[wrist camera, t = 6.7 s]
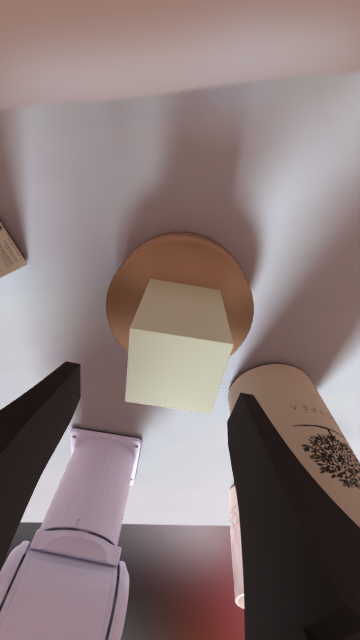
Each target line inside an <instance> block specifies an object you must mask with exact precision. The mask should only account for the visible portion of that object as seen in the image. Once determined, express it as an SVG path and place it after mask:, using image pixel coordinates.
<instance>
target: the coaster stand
mask: <svg viewBox="0 0 360 640" xmlns="http://www.w3.org/2000/svg"><path fill="white" fill-rule="evenodd" d="M150 278H151V279H157V280H163V281H169V282H175V283H181V284H187V285H193V286H199V287H205V288H211V289H217V290H220V291H221V295H222V299H223V303H224V307H225V311H226V316H227V320H228V324H229V328H230V332H231V336H232V340H233V344H234V345H233V348H232V351H231V354H230V356H231V355H232V354H233V353H234V352H235V351H236V350H237V349H238V348H239V347H240V346H241V344H242V343H243V341H244V340H245V338H246V337H247V335H248V332H249V330H250V327H251V324H252V320H253V314H254V304H253V297H252V293H251V290H250V287H249V285H248V283H247V280H246V278H245V276H244V275H243V273H242V271H241V269H240V267H239V265H238V263H237V262H236V260H235V259H234V257H233V256H232V255H231V254H230V253H229V252H228V251H227V250H226V249H225V248H224V247H223V246H221V245H220V244H218V243H217V242H215V241H214V240H212V239H209V238H207V237H205V236H202V235H198V234H195V233H188V232H173V233H166V234H163V235H159V236H156V237H154V238H152V239H149V240H148V241H146V242H144V243H143V244H141V245H140V246H139V247H138V248H136V249H135V250H134V251H133V252H132V254H131V255H130V256H129V257H128V258H127V260H126V261H125V262H124V263H123V265H122V266H121V267H120V268H119V270H118V271H117V273H116V274H115V276H114V277H113V279H112V281H111V284H110V286H109V290H108V293H107V300H106V312H107V318H108V322H109V325H110V328H111V330H112V332H113V334H114V336H115V337H116V339H117V341H118V342H119V343H120V344H121V346H122V347H123V348H124V349H125V350H126V351H127V352H128V348H129V334H130V327H131V324H132V322H133V319H134V317H135V315H136V312H137V310H138V307H139V305H140V302H141V300H142V298H143V295H144V293H145V290H146V288H147V286H148V283H149V281H150Z"/></svg>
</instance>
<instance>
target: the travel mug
mask: <svg viewBox="0 0 360 640" xmlns="http://www.w3.org/2000/svg"><path fill="white" fill-rule="evenodd" d="M240 392H241V393H246V394H252V395H254V396H255V398H256V399H257V401H258V403H259V404H260V406H261V407H262V409H263V410H264V412H265V413H266V415H267V416H268V418H269V419H270V421H271V422H272V424H273V425H274V427H275V428H276V430H277V431H278V433H279V434H280V435H281V437H282V438H283V440H284V441H285V443H286V444H287V445H288V447H289V448H290V449H291V451H292V452H293V453H294V455H295V456H296V457H297V458H298V460H299V461H300V462H301V464H302V465H303V466H304V467H305V469H306V470H307V471H308V472H309V474H310V475H311V476H312V477H313V478H314V479H315V480H316V482H317V483H318V484H319V485H320V486H321V487H322V489H323V490H324V491H325V492H326V493H327V494H328V495H329V496H330V497H331V499H332V500H333V501H334V502H335V503H336V504H337V505H338V506H339V507H340V508H341V509H342V510H343V511H344V512H345V513H346V514H347V515H348V516H349V517H350V518H351V519H352V520H353V521H354V522H355V523H356V524H357V525H358V526H359V527H360V463H359V461H358V459H357V458H356V456H355V454H354V453H353V451H352V449H351V447H350V446H349V444H348V442H347V441H346V439H345V437H344V435H343V434H342V432H341V430H340V429H339V427H338V425H337V424H336V422H335V420H334V418H333V417H332V415H331V413H330V412H329V410H328V408H327V406H326V405H325V403H324V401H323V400H322V398H321V396H320V395H319V393H318V391H317V389H316V388H315V386H314V384H313V383H312V381H311V379H310V378H309V376H308V375H307V374H306V373H304V372H303V371H302V370H300V369H298V368H296V367H293V366H290V365H285V364H268V365H263V366H259V367H256V368H253V369H251V370H249V371H247V372H245V373H244V374H242V375H241V376H240V377H238V378H237V379H236V380H235V382H234V383H233V384H232V386H231V388H230V390H229V394H228V401H229V407H230V414H231V412H232V410H233V408H234V406H235V403H236V401H237V399H238V397H239V394H240Z"/></svg>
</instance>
